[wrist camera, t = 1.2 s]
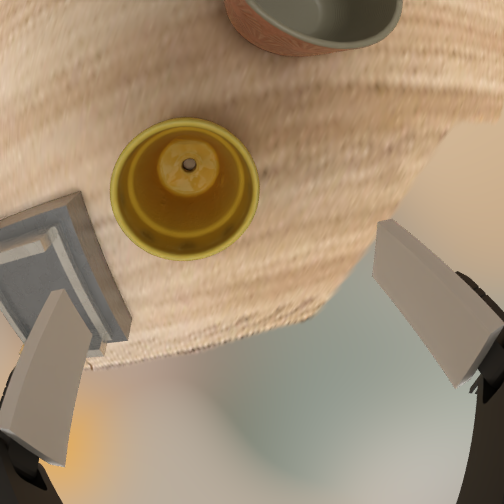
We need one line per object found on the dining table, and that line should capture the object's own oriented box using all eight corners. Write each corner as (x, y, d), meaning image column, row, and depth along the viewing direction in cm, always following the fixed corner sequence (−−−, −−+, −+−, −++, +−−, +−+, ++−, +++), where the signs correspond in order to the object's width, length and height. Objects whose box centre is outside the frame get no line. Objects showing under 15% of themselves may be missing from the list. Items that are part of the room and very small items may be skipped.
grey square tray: (-23, 219, 23) (-54, 248, 17) (76, 179, 25) (44, 205, 19) (35, 330, 34) (20, 366, 27) (132, 318, 35) (124, 362, 29)
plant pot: (180, 91, 23) (169, 86, 15) (262, 155, 27) (291, 184, 19) (118, 176, 26) (84, 214, 18) (197, 230, 30) (199, 285, 22)
